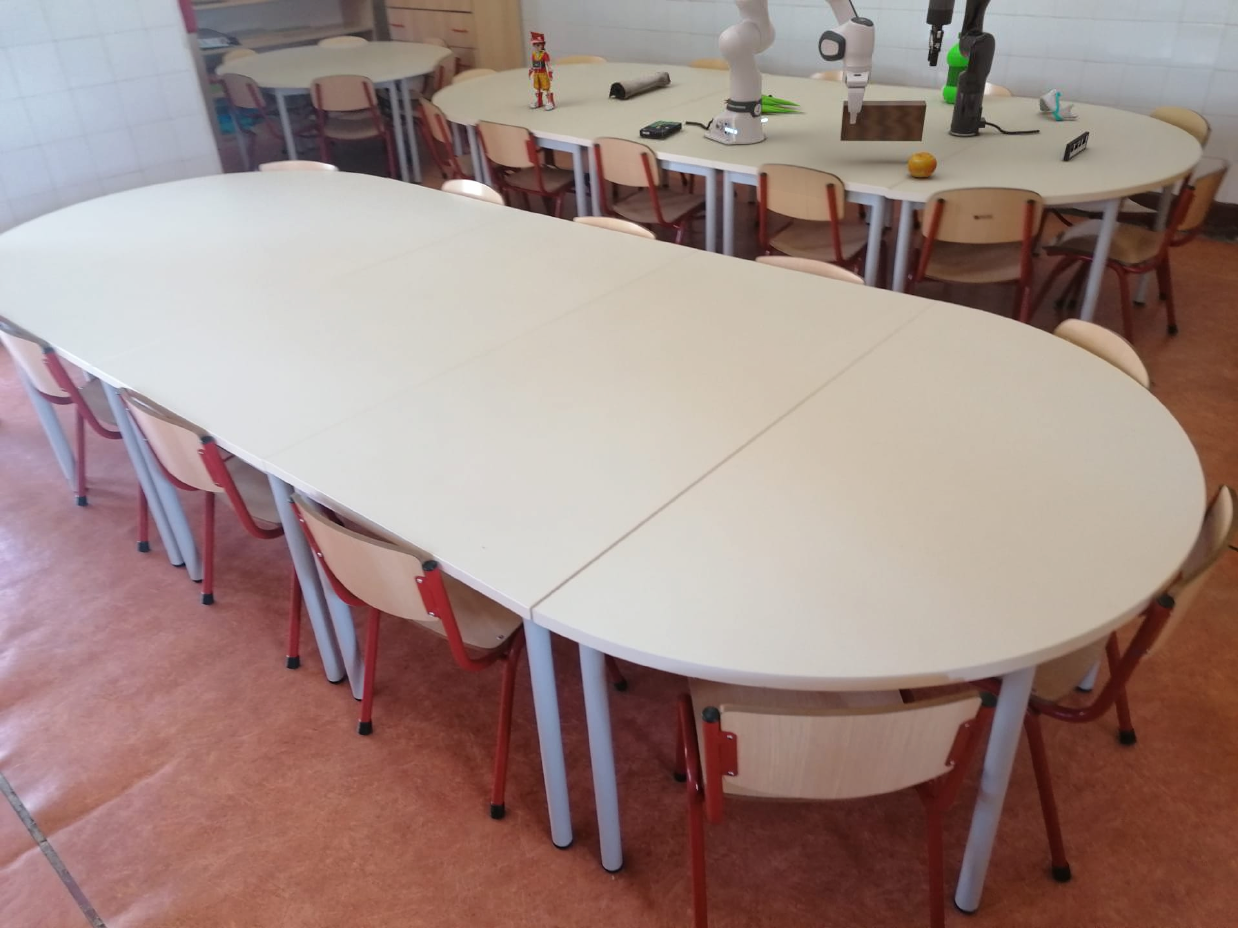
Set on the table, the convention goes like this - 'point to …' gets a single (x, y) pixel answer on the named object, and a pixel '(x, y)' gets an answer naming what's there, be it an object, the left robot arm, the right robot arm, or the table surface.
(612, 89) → the rolled mat
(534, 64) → the toy
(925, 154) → the fruit
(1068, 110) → the white and teal piece
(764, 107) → the toy
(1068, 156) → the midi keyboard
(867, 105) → the box
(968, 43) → the right robot arm
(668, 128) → the disk drive
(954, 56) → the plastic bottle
